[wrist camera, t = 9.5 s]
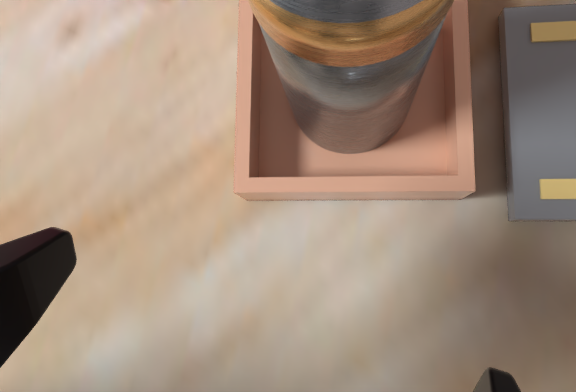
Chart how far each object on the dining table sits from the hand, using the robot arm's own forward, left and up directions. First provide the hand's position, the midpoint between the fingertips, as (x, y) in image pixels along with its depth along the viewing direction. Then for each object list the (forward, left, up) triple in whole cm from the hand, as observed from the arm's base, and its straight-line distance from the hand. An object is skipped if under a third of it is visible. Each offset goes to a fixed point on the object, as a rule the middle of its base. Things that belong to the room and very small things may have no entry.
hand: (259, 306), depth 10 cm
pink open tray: (+2, +8, -11) cm, 14 cm away
